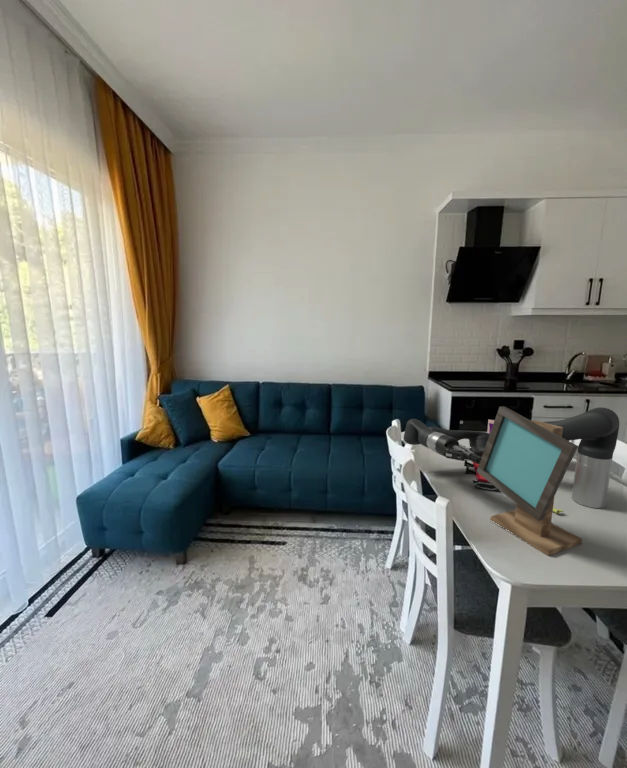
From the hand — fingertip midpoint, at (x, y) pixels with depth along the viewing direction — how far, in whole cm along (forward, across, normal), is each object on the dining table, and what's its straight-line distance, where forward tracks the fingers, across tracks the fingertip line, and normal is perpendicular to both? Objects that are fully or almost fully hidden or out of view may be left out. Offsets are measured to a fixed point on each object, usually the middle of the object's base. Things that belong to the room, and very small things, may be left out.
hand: (480, 461), depth 111 cm
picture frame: (+10, 0, -7) cm, 12 cm away
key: (+6, -23, -18) cm, 30 cm away
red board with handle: (-19, -26, -18) cm, 36 cm away
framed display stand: (+16, -4, -17) cm, 24 cm away
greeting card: (-37, -56, -17) cm, 70 cm away
